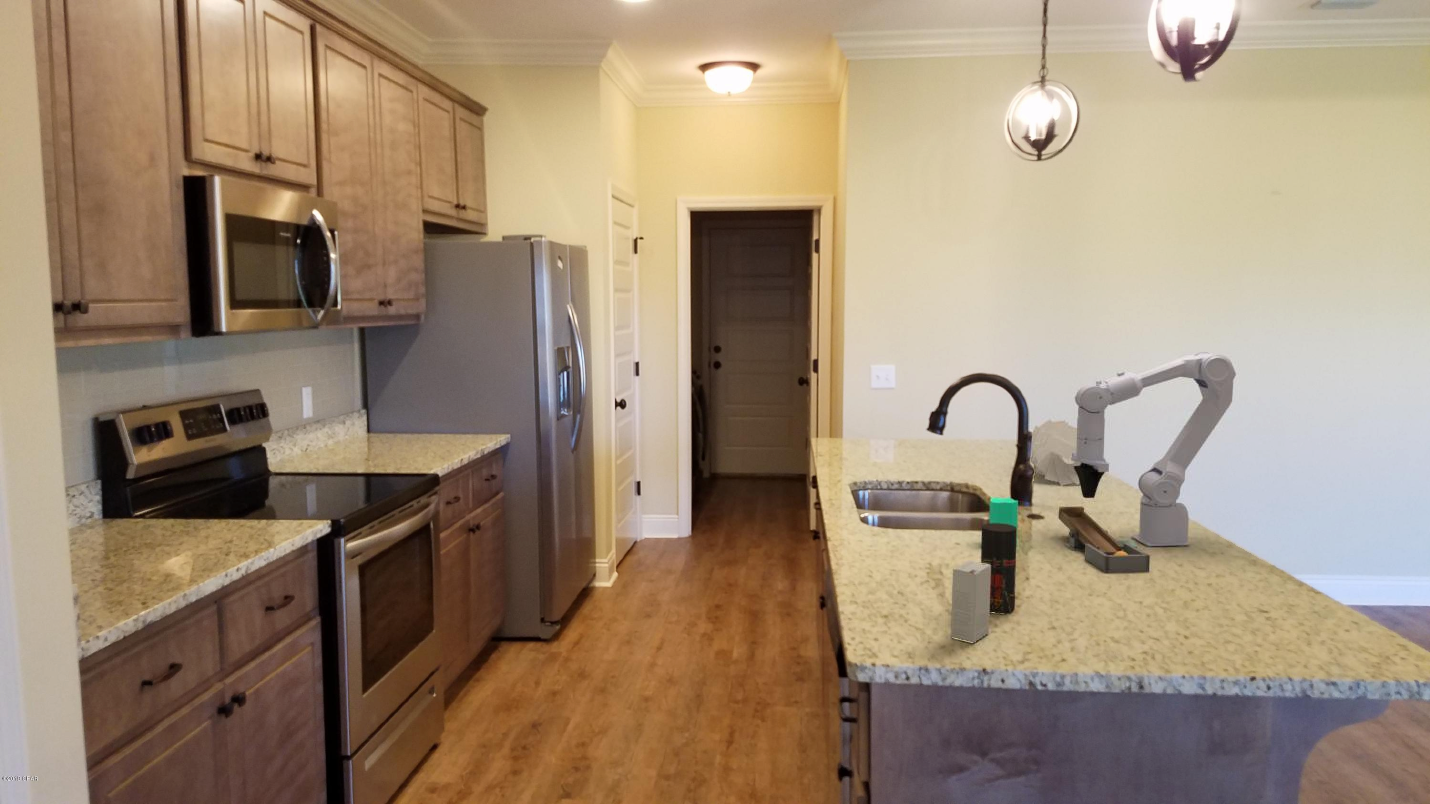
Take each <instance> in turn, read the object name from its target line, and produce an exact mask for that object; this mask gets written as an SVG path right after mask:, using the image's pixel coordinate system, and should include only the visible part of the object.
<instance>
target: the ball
mask: <svg viewBox="0 0 1430 804" xmlns="http://www.w3.org/2000/svg"><path fill="white" fill-rule="evenodd" d="M1114 555H1128V554H1127V553H1126V552H1123V550H1122V551H1118V552H1116V553H1115V554H1114Z"/></svg>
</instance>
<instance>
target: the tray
mask: <svg viewBox="0 0 1430 804" xmlns="http://www.w3.org/2000/svg"><path fill="white" fill-rule="evenodd" d="M1122 551H1123V552H1126V553H1127V554H1128V555H1106V554H1105V553H1103V552H1102V551H1100V550H1098V549H1097V548H1095V547H1093V546H1092V545H1090V544H1085V550H1084V559H1085V560H1086V561H1087V562H1089V563H1090V564H1092V565H1094V567H1096V568H1098V569H1099V570H1100V571H1102V572H1104V573H1137V572H1139V573H1140V572H1142V573H1143V572H1147V573H1148V572H1150V562H1151V561H1150V560H1151V555H1149V554H1147V553H1146V552H1144V551H1143V550H1141V549H1139V548H1138V547H1137V548H1135V547H1134V546H1132V545H1130V544H1128V543H1123V550H1122Z"/></svg>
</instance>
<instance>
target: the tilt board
mask: <svg viewBox="0 0 1430 804" xmlns="http://www.w3.org/2000/svg"><path fill="white" fill-rule="evenodd" d="M1057 519H1058V520H1059V521H1061V523H1062V524H1063V525H1064V526H1065V527H1067V529H1068V530H1069V531H1070V530H1074V531H1076V532H1077V537H1078V538H1079V539H1080V540H1081V541H1082V542H1083V543H1084V545H1085V544H1090V545H1092V546H1093V547H1095V548H1097V549H1098V550H1100V551H1102V552H1103V553H1105V554H1106V555H1114V554H1115V553H1116V552H1118V551H1123V543H1128V544H1130V545H1132V546H1134V547H1135V548H1137V549H1138V545H1137V544H1136V543H1134V542H1133V541H1132V540H1130V539H1129V540H1128V539H1127V540H1125V539H1124V540H1115V538H1114V537H1112V536H1111V535H1110V534H1109V532H1108V531H1107V530H1105V529H1104V528H1103V527H1101V525H1099V524H1098V523H1097V521H1095V520H1094V519H1093V518H1092V517H1091V516H1089V515H1088V513H1086V512H1085V507H1083V506H1059V507H1058V517H1057ZM1106 531H1107V532H1108V533H1107V532H1106Z"/></svg>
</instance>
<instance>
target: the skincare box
mask: <svg viewBox="0 0 1430 804" xmlns="http://www.w3.org/2000/svg"><path fill="white" fill-rule="evenodd" d="M990 582H991V565H990V564H985V563H981V562H978V561H973V560H967V561H965V562H964V563H961V564H959V565H958V566H957V567H955V568H953V569H952V583H951V585H952V587H951V592H952V593H951V619H950V620H951V621H950V638H951V637H954V638H958V639H961V640H966V641H970V642H973V643H974V642H975V643H977V642H978V641H980V640H981V639H983V638H984V637H985V636H987V635H988V634H990V633H989V632H990V614H991V613H990ZM986 634H987V635H986ZM983 636H984V637H983ZM980 638H981V639H980ZM979 639H980V640H979ZM977 640H978V641H977ZM976 641H977V642H976ZM975 643H974V644H975Z"/></svg>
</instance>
